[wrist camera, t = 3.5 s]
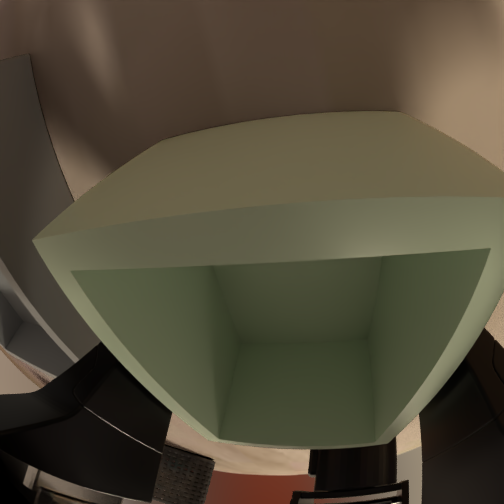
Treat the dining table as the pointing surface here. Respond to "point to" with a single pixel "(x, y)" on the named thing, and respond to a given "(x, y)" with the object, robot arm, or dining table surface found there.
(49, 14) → the dining table surface
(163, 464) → the storage bin
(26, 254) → the large crate
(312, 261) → the small crate
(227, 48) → the dining table surface
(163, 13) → the dining table surface
